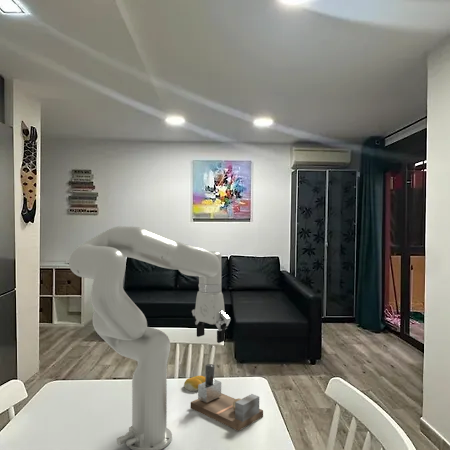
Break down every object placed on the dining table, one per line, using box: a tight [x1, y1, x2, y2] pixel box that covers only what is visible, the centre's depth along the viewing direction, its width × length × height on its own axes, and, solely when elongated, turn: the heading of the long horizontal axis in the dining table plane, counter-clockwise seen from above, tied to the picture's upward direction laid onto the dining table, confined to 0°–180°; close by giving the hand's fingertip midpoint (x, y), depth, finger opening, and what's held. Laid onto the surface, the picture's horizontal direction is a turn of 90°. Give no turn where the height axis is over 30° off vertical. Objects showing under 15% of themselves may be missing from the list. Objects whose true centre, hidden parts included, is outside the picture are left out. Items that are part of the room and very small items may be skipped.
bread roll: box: [183, 375, 205, 392], centre depth 149 cm, size 8×9×4 cm
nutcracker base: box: [190, 392, 264, 432], centre depth 129 cm, size 12×21×7 cm, turn 47°
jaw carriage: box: [197, 363, 222, 403], centre depth 134 cm, size 7×4×11 cm, turn 137°
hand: (210, 338), depth 135 cm, fingers open, 9 cm apart
